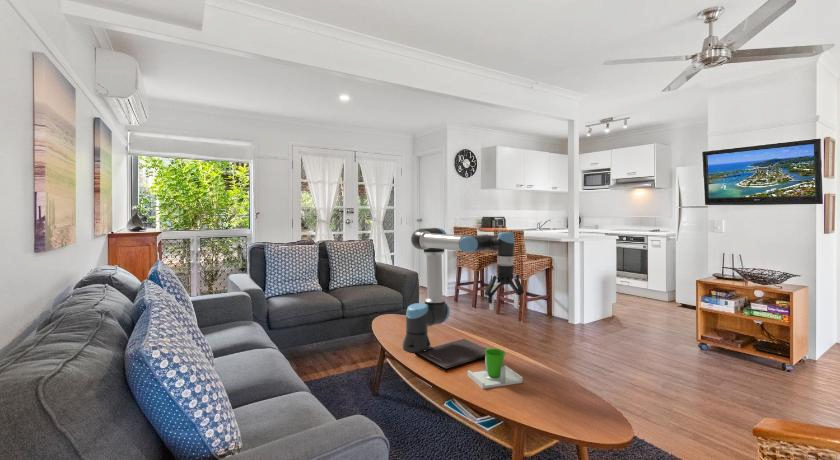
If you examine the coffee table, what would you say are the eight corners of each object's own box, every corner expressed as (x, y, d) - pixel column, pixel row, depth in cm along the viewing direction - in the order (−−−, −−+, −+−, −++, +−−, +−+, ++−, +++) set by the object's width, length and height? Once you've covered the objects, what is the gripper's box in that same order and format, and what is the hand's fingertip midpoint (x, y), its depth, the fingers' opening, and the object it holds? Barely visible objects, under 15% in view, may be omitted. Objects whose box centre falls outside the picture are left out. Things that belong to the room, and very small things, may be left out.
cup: (504, 381, 176) (505, 356, 176) (483, 379, 178) (484, 354, 177) (504, 372, 185) (504, 349, 184) (484, 371, 187) (484, 347, 186)
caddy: (466, 375, 185) (467, 357, 185) (504, 369, 192) (505, 352, 192) (483, 389, 171) (484, 370, 170) (523, 383, 178) (524, 365, 177)
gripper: (486, 266, 184) (484, 312, 185) (532, 265, 192) (530, 309, 194) (478, 264, 191) (476, 308, 192) (523, 262, 199) (521, 305, 201)
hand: (503, 309), depth 193 cm, fingers open, 13 cm apart
